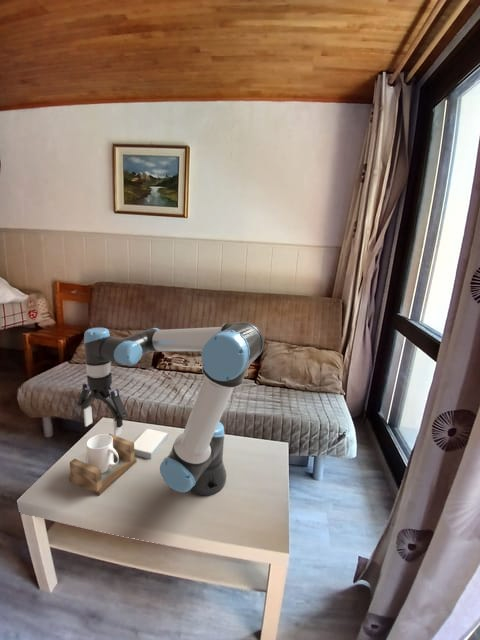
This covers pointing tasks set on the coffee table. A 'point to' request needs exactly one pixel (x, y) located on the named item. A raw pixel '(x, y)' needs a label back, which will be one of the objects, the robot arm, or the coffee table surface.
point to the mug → (101, 452)
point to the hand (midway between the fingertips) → (103, 429)
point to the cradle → (92, 475)
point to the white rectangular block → (149, 443)
